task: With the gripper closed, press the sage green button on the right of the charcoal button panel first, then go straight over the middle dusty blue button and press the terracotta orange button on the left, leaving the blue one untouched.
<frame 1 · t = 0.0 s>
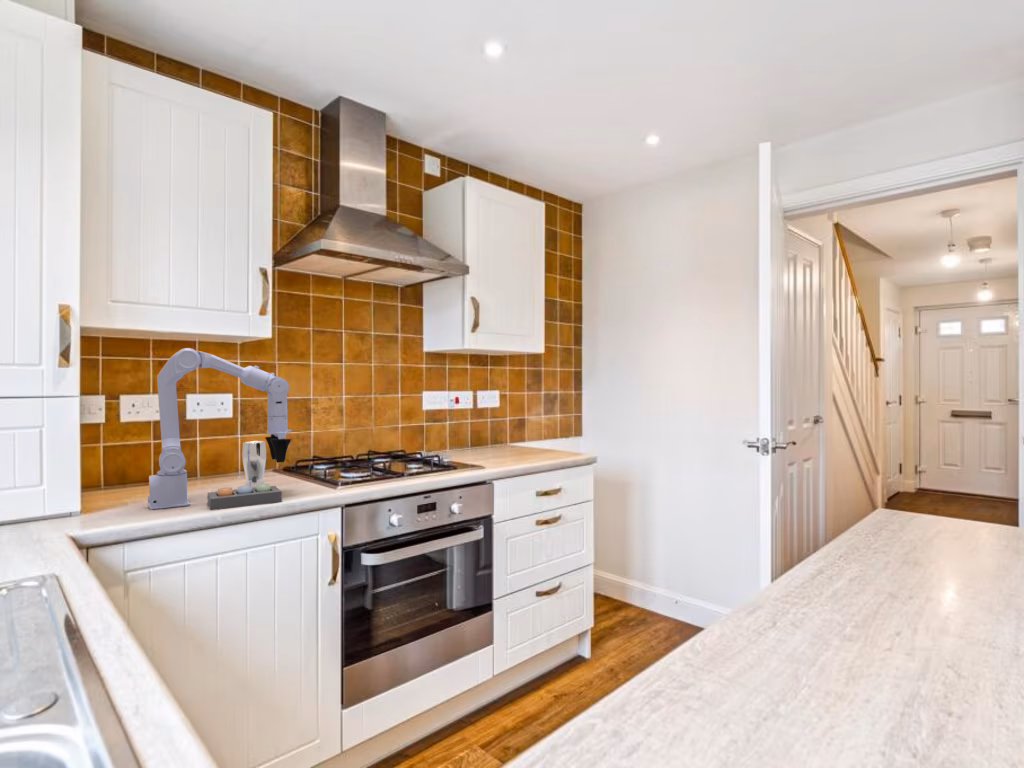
hand: (278, 460, 178), 10 cm above the countertop, tool pointing down, fingers open, 7 cm apart
orange button: (225, 494, 163), point 3 cm above the countertop, slide at 0.0 cm
beer glass: (254, 489, 186), on the countertop
blue button: (244, 492, 166), point 3 cm above the countertop, slide at 0.0 cm
green button: (263, 490, 168), point 3 cm above the countertop, slide at 0.0 cm
button panel: (244, 502, 166), on the countertop
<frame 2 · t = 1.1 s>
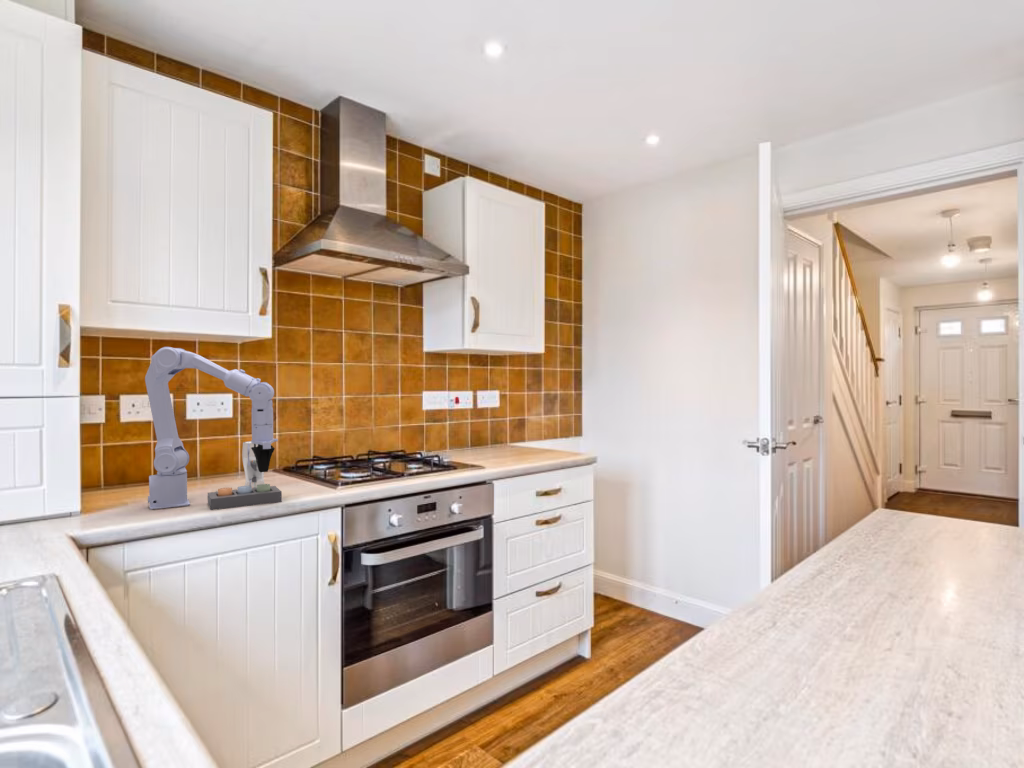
hand: (263, 471, 168), 8 cm above the countertop, tool pointing down, fingers closed
nothing on the countertop moved.
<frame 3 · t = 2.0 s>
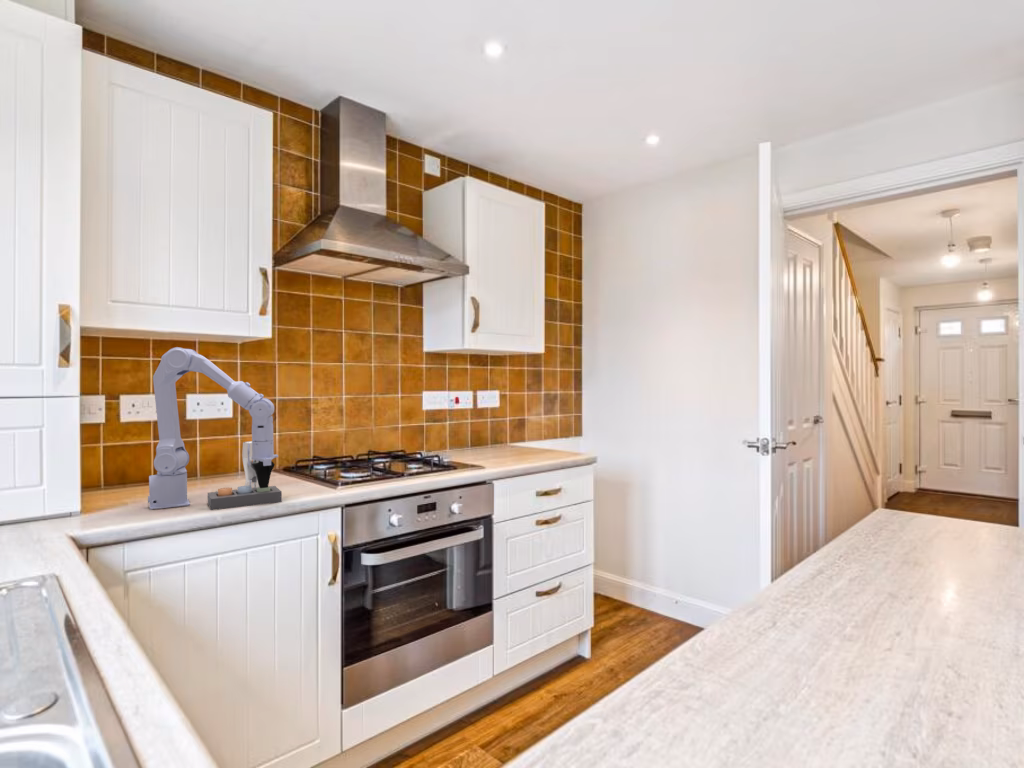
hand: (263, 487, 168), 4 cm above the countertop, tool pointing down, fingers closed, pressing on green button
green button: (263, 492, 168), point 2 cm above the countertop, slide at 0.7 cm, touching gripper
everything else where it was.
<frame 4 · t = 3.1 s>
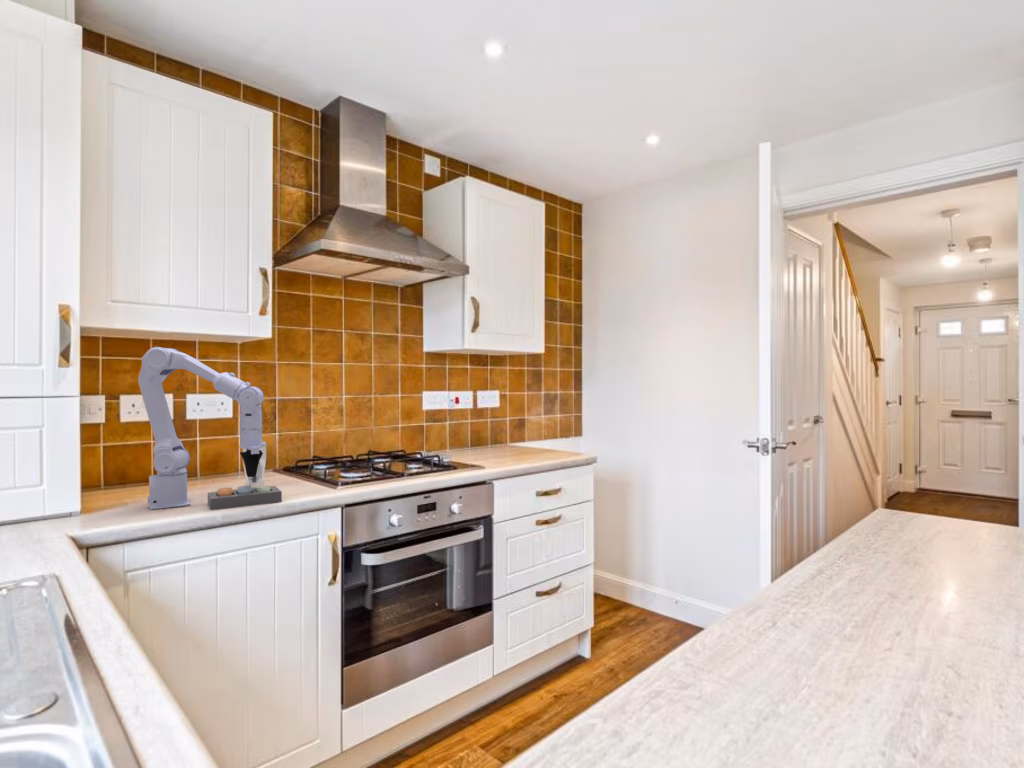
hand: (251, 476, 167), 7 cm above the countertop, tool pointing down, fingers closed
green button: (263, 493, 168), point 2 cm above the countertop, slide at 0.9 cm
everything else where it was.
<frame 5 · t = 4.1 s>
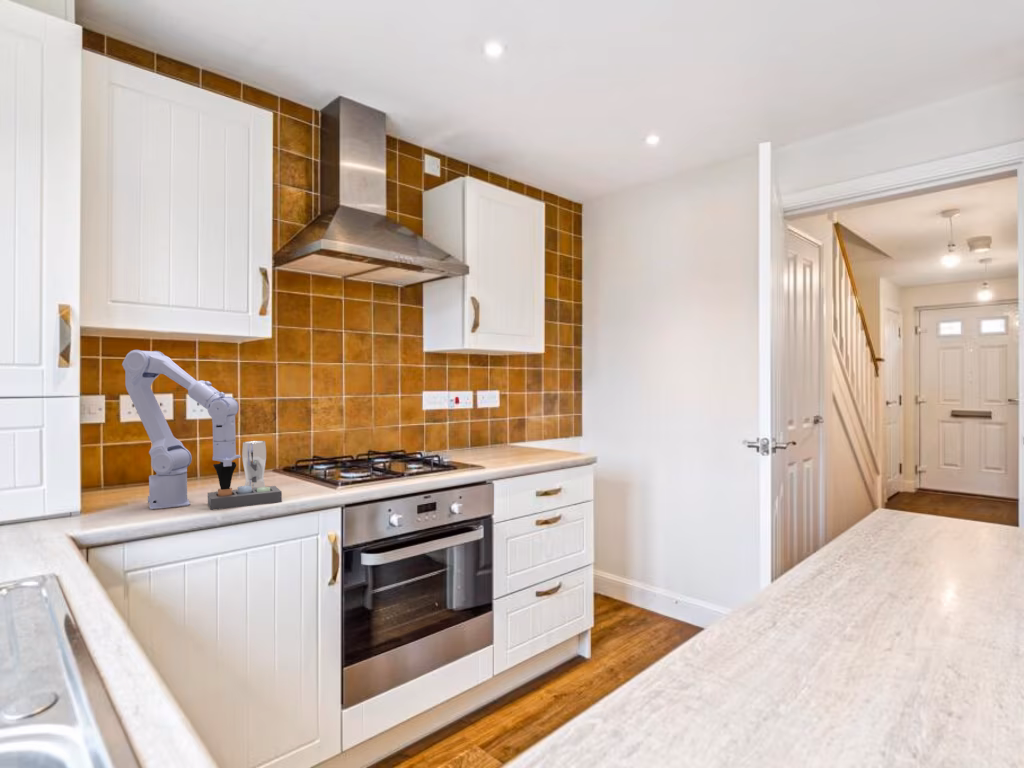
hand: (225, 489, 163), 4 cm above the countertop, tool pointing down, fingers closed, pressing on orange button
orange button: (225, 494, 163), point 3 cm above the countertop, slide at 0.0 cm, touching gripper
everything else where it was.
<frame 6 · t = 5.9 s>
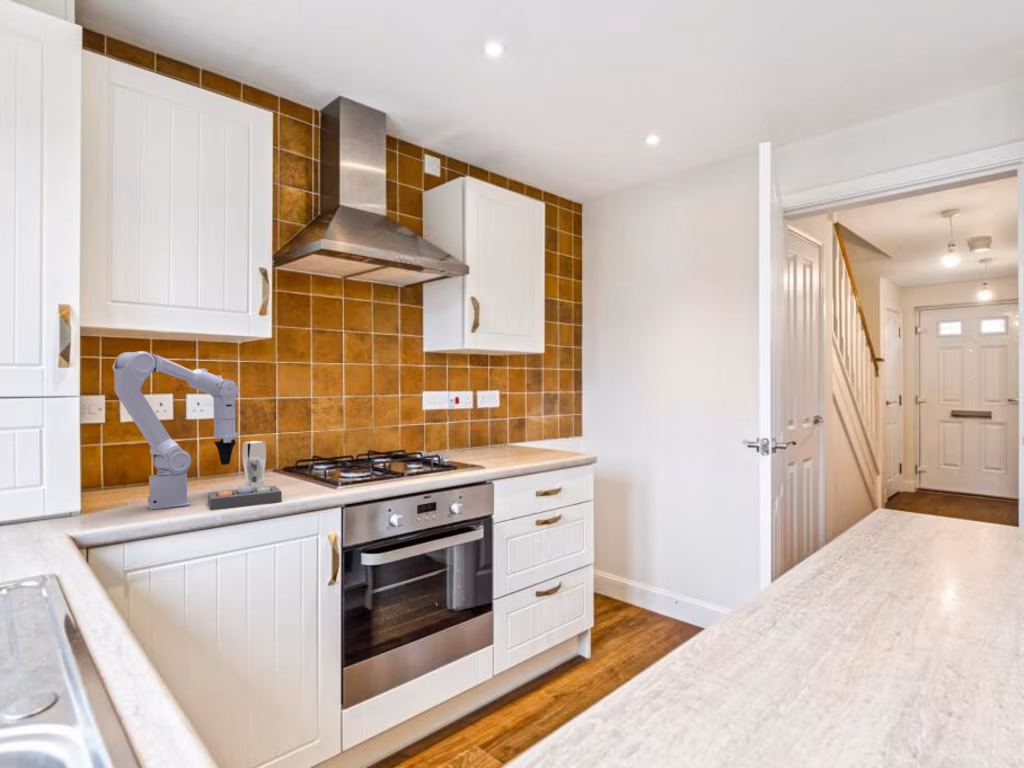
hand: (225, 464, 176), 9 cm above the countertop, tool pointing down, fingers closed
orange button: (225, 497, 163), point 2 cm above the countertop, slide at 0.9 cm
everything else where it was.
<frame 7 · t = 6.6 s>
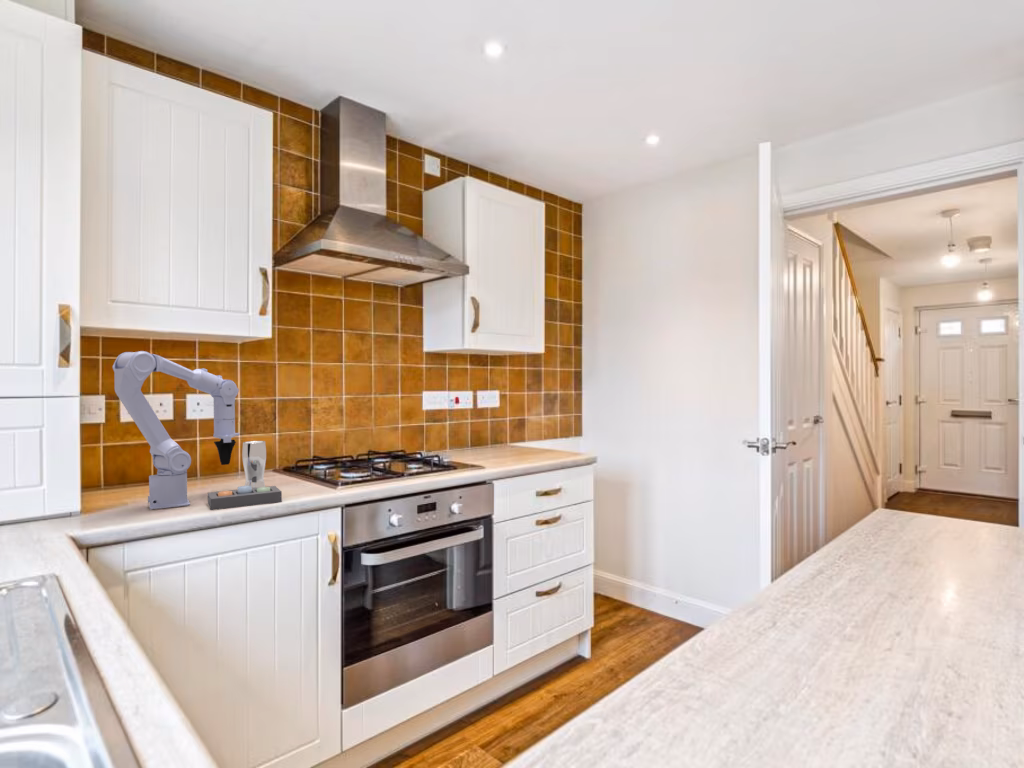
hand: (225, 464, 176), 9 cm above the countertop, tool pointing down, fingers closed
nothing on the countertop moved.
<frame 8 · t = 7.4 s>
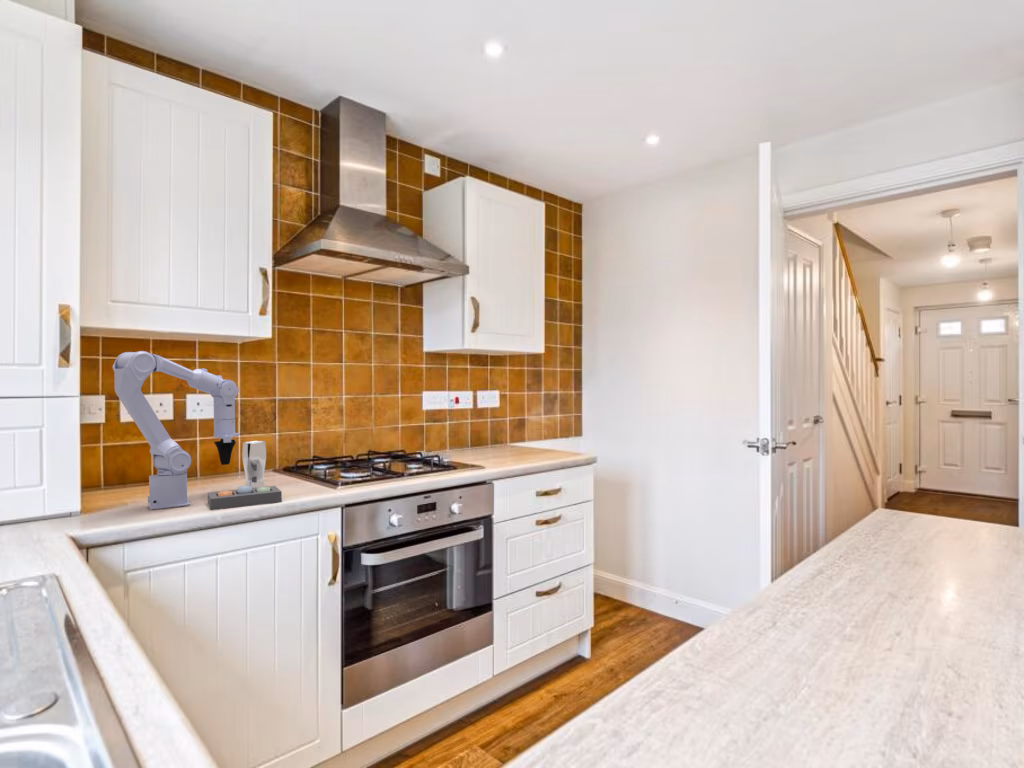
hand: (225, 464, 176), 9 cm above the countertop, tool pointing down, fingers closed
nothing on the countertop moved.
at the end: green button slide at 0.9 cm; orange button slide at 0.9 cm; blue button slide at 0.0 cm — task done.
